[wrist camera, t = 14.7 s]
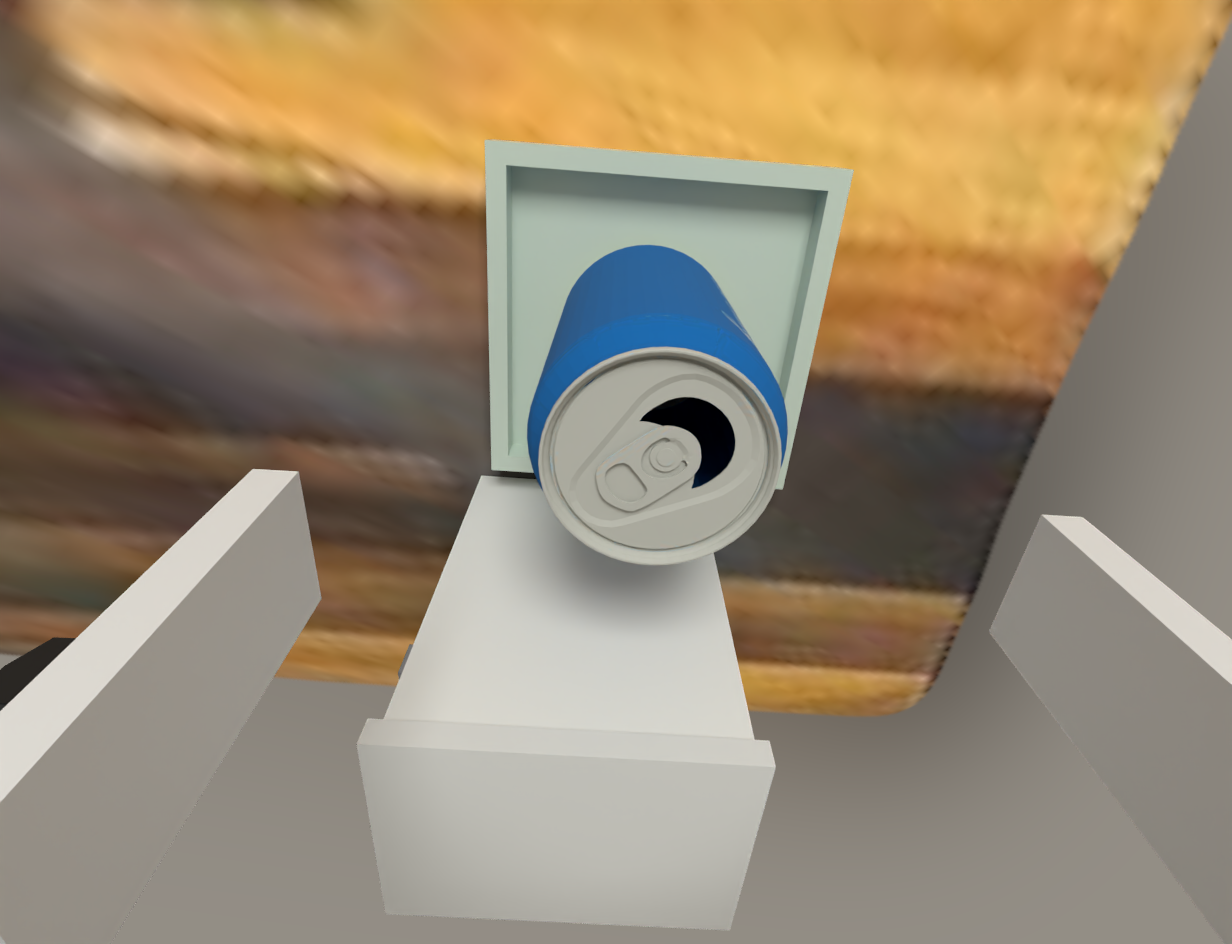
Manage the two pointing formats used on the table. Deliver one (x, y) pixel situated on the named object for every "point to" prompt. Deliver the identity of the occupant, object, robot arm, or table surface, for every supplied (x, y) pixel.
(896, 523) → the table surface
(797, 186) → the tray
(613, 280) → the beverage can
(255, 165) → the table surface
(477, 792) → the block
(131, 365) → the table surface
